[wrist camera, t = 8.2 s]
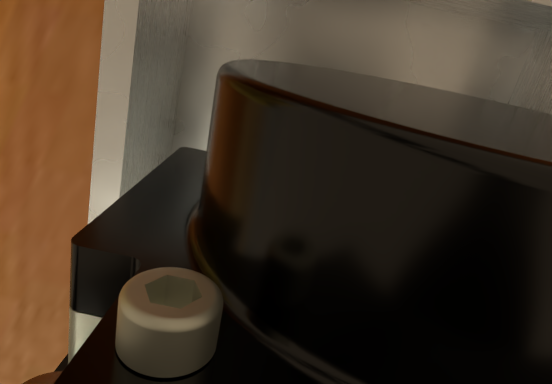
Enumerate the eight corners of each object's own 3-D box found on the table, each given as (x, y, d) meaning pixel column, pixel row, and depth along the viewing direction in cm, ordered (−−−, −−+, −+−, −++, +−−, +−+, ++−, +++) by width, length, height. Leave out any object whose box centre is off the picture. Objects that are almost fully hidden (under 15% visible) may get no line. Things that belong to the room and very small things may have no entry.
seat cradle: (186, -75, 12) (114, -141, 8) (557, 12, 12) (696, -4, 8) (128, 375, 18) (67, 485, 14) (383, 434, 18) (407, 565, 14)
